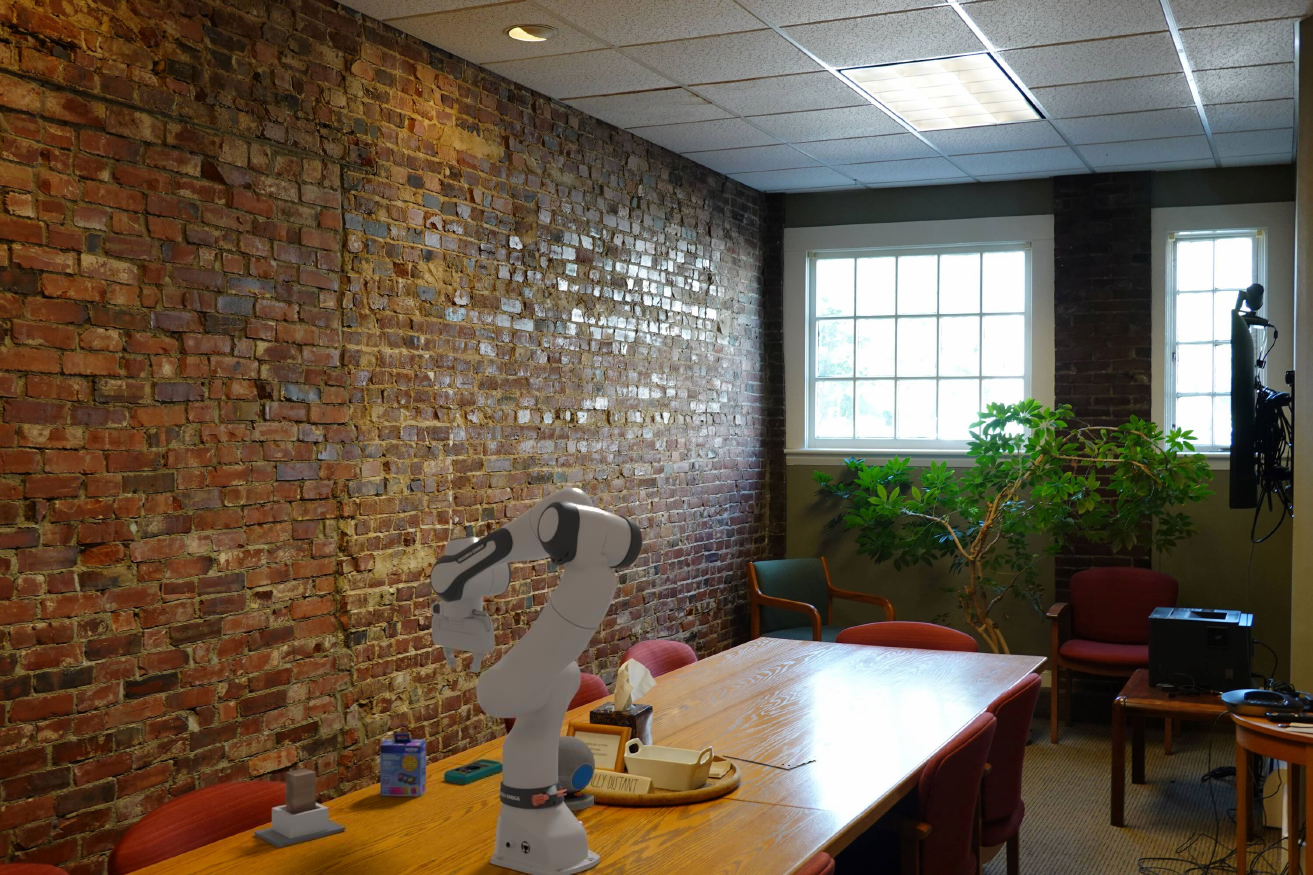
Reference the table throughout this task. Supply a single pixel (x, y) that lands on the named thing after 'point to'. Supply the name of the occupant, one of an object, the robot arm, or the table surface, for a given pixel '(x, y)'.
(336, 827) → the dock
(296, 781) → the peg
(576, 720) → the table surface
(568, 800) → the webcam
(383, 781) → the ink cartridge box
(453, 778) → the digital multimeter
